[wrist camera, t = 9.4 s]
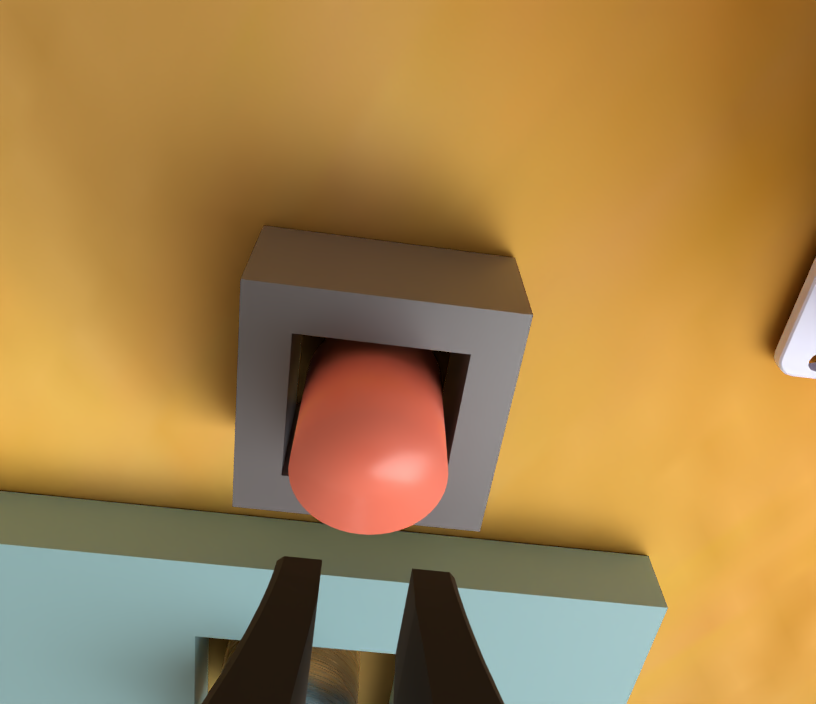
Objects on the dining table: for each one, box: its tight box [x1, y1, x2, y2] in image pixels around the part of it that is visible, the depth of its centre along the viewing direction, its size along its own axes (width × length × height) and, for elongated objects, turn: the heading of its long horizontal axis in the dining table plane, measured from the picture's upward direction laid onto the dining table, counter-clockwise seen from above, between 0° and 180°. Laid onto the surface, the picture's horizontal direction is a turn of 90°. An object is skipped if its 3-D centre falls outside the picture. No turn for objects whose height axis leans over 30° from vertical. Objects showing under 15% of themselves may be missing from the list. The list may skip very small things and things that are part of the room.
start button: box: [288, 338, 448, 535], centre depth 17 cm, size 3×3×4 cm
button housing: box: [232, 226, 533, 532], centre depth 19 cm, size 6×6×3 cm
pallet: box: [0, 491, 668, 704], centre depth 25 cm, size 20×12×2 cm, turn 82°
